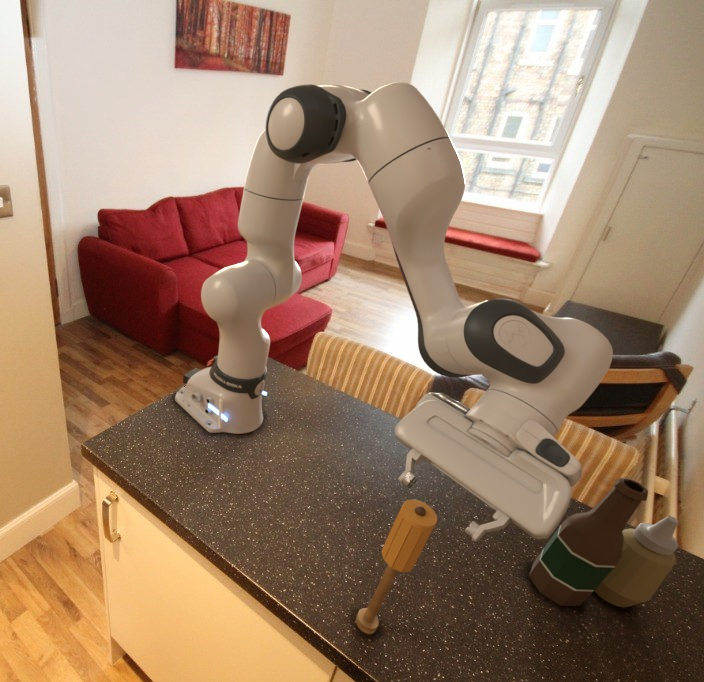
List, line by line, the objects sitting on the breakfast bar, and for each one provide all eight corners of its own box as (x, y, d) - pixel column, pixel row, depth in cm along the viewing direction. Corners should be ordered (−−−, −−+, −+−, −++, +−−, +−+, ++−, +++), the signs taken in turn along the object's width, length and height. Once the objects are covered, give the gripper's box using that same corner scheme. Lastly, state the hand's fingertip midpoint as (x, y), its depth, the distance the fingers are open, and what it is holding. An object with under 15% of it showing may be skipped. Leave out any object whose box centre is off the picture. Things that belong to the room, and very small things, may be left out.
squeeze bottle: (622, 622, 70) (694, 551, 62) (568, 577, 77) (626, 505, 68) (649, 604, 73) (721, 533, 65) (595, 562, 80) (654, 491, 71)
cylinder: (376, 558, 59) (399, 507, 54) (388, 539, 62) (411, 489, 57) (407, 578, 57) (433, 528, 52) (418, 557, 60) (444, 508, 55)
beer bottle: (516, 573, 77) (588, 472, 65) (544, 558, 80) (618, 460, 68) (564, 616, 71) (652, 514, 59) (592, 599, 73) (682, 498, 62)
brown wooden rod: (352, 623, 67) (401, 516, 55) (360, 609, 69) (409, 503, 57) (371, 638, 65) (426, 531, 54) (379, 623, 67) (434, 517, 56)
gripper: (428, 377, 63) (363, 451, 63) (598, 474, 48) (514, 570, 48) (435, 394, 67) (375, 463, 68) (593, 488, 53) (516, 576, 53)
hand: (434, 509), depth 58 cm, fingers open, 8 cm apart
